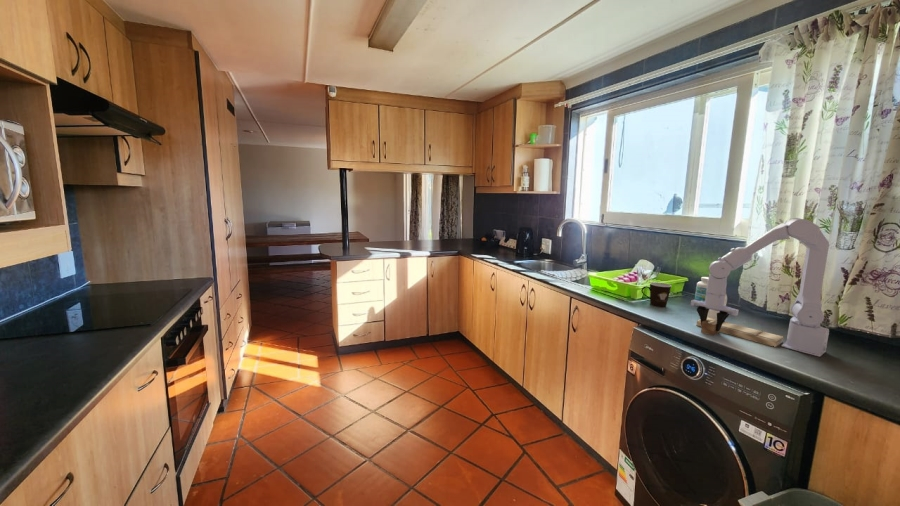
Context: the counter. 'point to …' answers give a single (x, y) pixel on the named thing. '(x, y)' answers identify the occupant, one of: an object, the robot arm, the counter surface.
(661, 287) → the coffee mug
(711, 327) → the brown wooden cube
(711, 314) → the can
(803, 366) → the counter surface
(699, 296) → the pill bottle
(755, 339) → the maple board
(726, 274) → the robot arm
